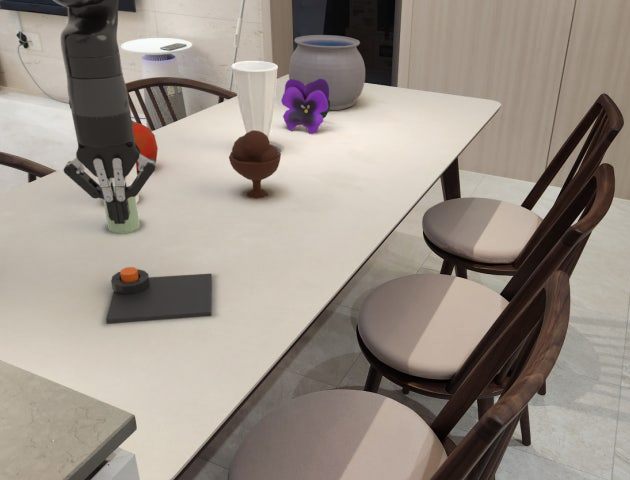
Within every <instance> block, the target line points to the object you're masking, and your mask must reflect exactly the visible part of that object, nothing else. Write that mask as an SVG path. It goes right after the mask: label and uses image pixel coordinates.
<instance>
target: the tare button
mask: <svg viewBox="0 0 630 480" xmlns="http://www.w3.org/2000/svg"><path fill="white" fill-rule="evenodd" d="M137 269H138V268H136V267H135V266H127V267H124V268H122V269H120V271H119V272H120V275H121V280H122V282H126V283H127V282H133V281H137V280H138V279H139V276H138V270H137Z"/></svg>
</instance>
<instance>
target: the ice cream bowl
mask: <svg viewBox="0 0 630 480" xmlns="http://www.w3.org/2000/svg"><path fill="white" fill-rule="evenodd" d="M270 144H271V143H270V138H269V137H267V135H265V134H264V133H262V132H260V131H255V130H252V131H250V132H248V133H246V132H245V134H244V135H242V136H239V137H238V138H237V139H236V140H235V141H234V144H233V146H232V149H231V151H230V154H229V155H228V158H229V159H228V160H229V163H230V166H231V167H232V169H233V170H234V172H236V173H237V174H239V175H240V176H242V177H243V178H245V179H247V180H250V181H251V182H252V189H250V190H248V191H246V193H245V196H247V197H248V198H250V199H262V198H263V199H264V198H265V197H268V196H269V192H268V191H266V190H265V189H263V188H262V184H261V183H262V181H263V180H265V179H267V178H269V177H271V176H272V175H274V174H275V173H276V172H277V170H278V168H279V166H280V162H281V158H282V157H281V156H282V153H281V151H280V152H278V151H277V149H276V148H275V147H274V146H273V145H274V144H271V145H270Z"/></svg>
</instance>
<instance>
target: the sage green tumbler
mask: <svg viewBox="0 0 630 480" xmlns="http://www.w3.org/2000/svg"><path fill="white" fill-rule="evenodd" d="M127 187H128V186H127ZM114 189H115V195H116V187H115V186H114ZM102 201H103V206H104V212H105V217H106V222H107V223H106V224H107V229H108V230H109V232H111V233H113V234H114V233H115V234H128V233H132V232H135V231H137V230H138V229H140V226H141V223H140V216H139V211H138V202H137V203H136V197H130V198H128V203H129V210H130V215H129V219H128V220H126V223H125V224H115V223H114V221H111V220H110V218H109V215H108V209H107V204H106V201H105V200H104V199H102Z"/></svg>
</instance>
